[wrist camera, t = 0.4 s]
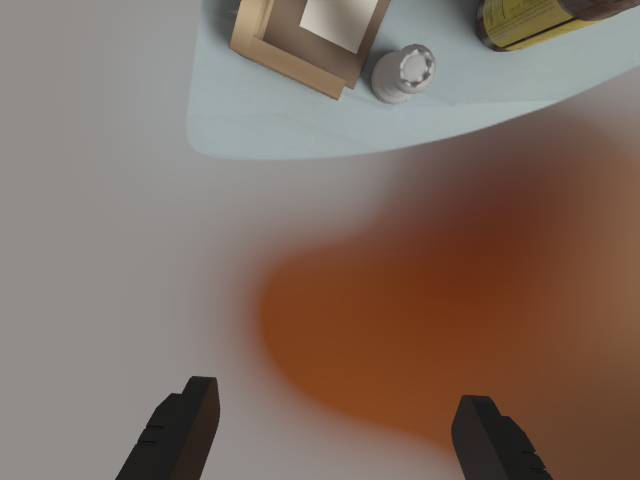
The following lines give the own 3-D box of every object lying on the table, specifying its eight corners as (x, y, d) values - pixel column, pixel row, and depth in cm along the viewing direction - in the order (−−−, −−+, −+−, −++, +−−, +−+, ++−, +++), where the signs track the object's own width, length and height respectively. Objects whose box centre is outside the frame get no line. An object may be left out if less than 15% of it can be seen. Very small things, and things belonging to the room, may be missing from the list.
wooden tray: (286, -106, 24) (279, -145, 20) (406, -39, 26) (420, -65, 22) (241, 55, 29) (228, 47, 25) (346, 105, 30) (349, 104, 26)
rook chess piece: (370, 53, 28) (385, 33, 21) (418, 50, 28) (451, 28, 21) (370, 106, 30) (384, 104, 23) (416, 103, 30) (445, 100, 22)
